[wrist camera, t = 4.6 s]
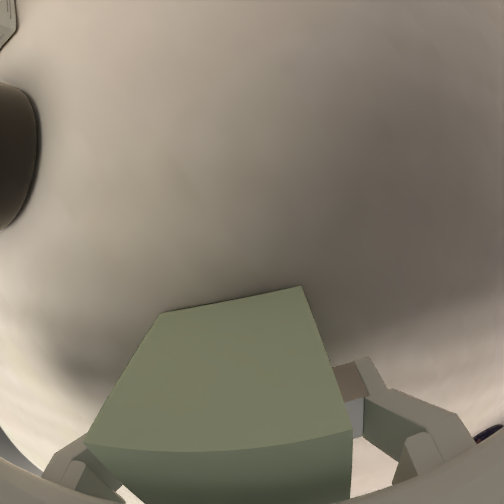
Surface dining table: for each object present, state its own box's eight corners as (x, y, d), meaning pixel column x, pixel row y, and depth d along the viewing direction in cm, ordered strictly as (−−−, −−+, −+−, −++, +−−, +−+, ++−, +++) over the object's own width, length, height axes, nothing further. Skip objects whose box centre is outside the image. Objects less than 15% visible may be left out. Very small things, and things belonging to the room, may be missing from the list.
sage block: (301, 285, 9) (352, 428, 3) (318, 392, 11) (347, 517, 5) (160, 313, 10) (82, 441, 4) (203, 410, 11) (179, 529, 5)
